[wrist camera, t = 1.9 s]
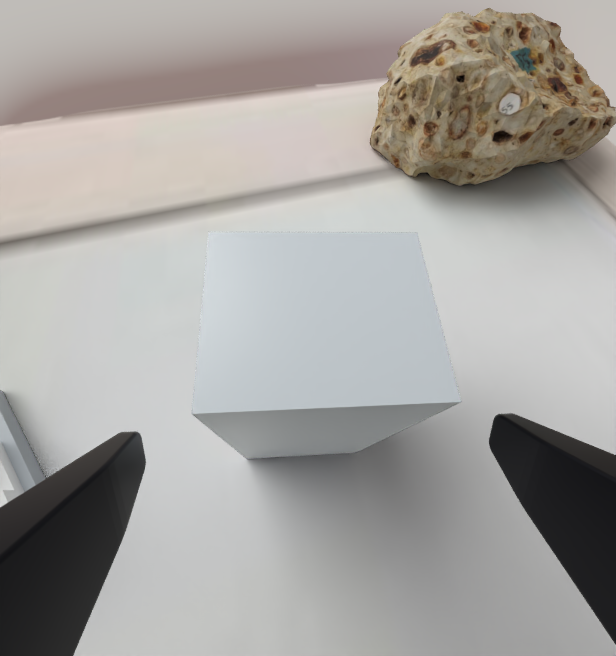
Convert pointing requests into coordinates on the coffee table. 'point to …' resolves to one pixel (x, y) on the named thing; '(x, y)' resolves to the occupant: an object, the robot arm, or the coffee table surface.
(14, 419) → the rail
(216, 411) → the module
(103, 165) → the coffee table surface
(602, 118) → the rock
